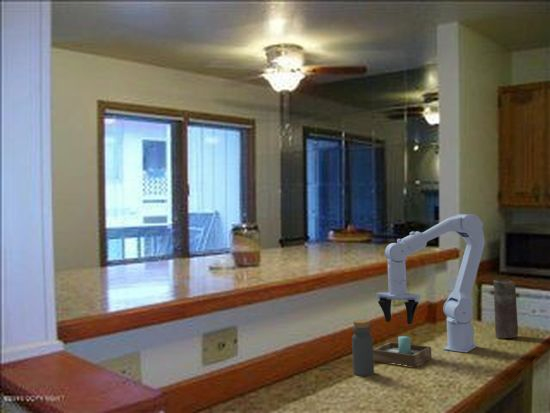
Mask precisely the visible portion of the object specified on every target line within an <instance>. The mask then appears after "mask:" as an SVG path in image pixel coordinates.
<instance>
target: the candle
mask: <svg viewBox="0 0 550 413" xmlns="http://www.w3.org/2000/svg"><path fill="white" fill-rule="evenodd" d="M492 282H493V301H494V302H493V303H494V304H493V305H494V328H495V332H494V333H495V337H496V339H513V338H516V337H517V336H518V335H519V328H518V325H519V324H518V310H517V309H518V308H517V292H516V291H517V290H516V282H514V281H513V280H505V279H499V278H498V279H493V281H492Z"/></svg>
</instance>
